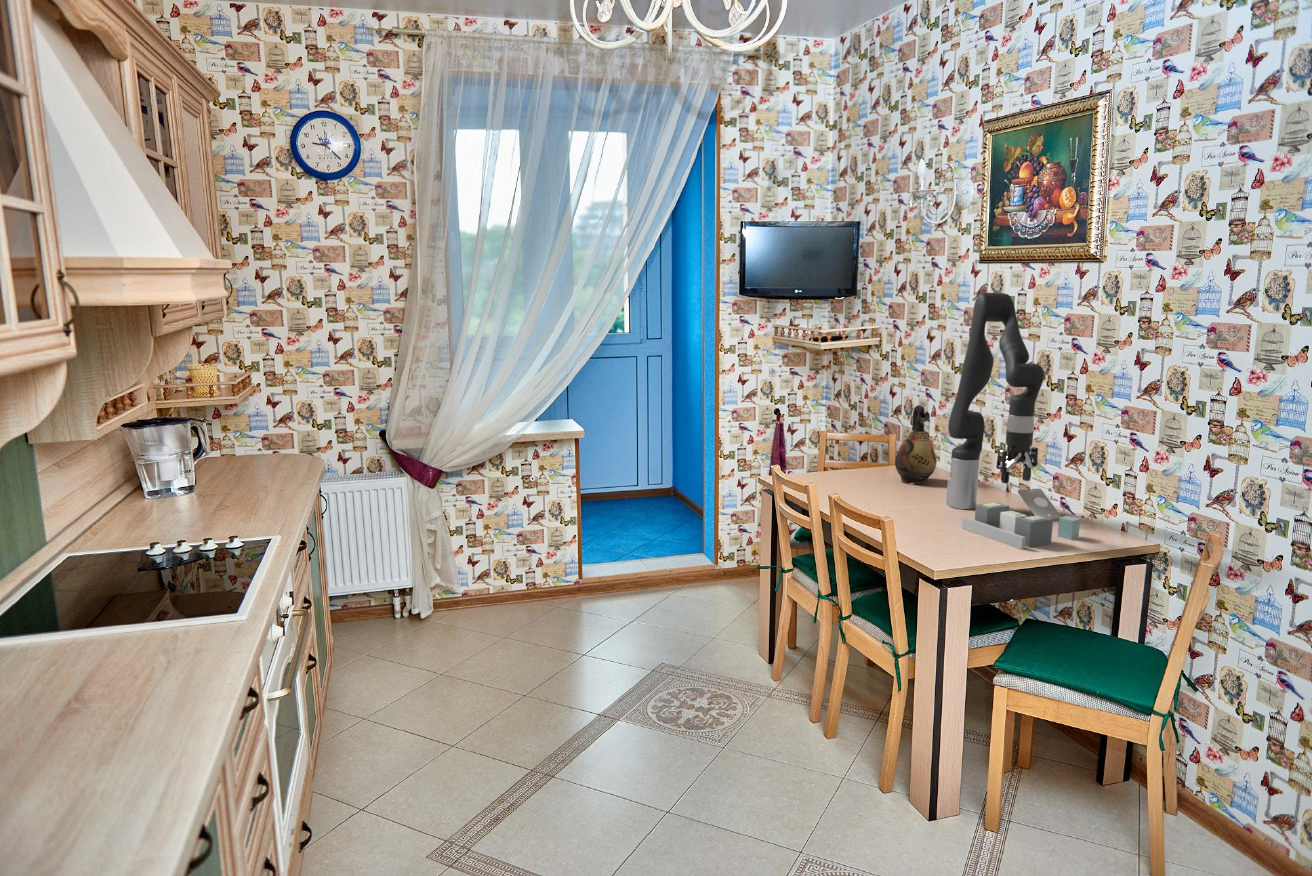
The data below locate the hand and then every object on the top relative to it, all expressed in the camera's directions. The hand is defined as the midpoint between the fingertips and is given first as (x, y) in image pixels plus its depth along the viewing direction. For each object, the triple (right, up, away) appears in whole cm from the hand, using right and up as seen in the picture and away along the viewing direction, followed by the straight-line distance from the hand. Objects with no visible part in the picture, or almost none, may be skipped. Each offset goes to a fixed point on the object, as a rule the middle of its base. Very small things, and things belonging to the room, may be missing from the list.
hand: (1015, 481), depth 269 cm
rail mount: (-2, -17, +2) cm, 17 cm away
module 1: (0, -17, +3) cm, 17 cm away
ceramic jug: (-9, -4, +77) cm, 77 cm away
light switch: (+19, -13, +27) cm, 35 cm away
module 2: (+17, -17, +2) cm, 24 cm away
